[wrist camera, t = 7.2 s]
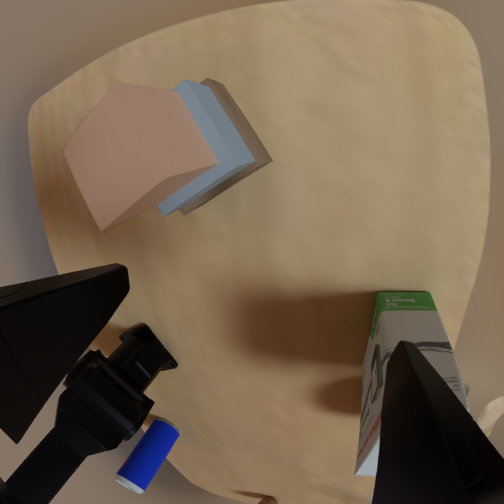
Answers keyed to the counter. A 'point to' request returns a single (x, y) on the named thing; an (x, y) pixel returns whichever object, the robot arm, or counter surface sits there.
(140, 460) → the beverage can
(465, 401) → the ink box
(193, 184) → the tower top
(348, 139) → the counter surface
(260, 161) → the tower base
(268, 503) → the egg
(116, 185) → the cube
